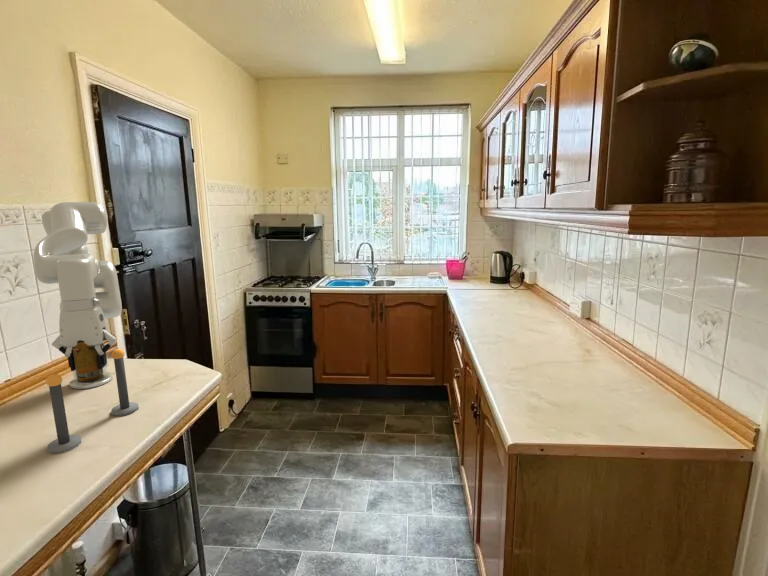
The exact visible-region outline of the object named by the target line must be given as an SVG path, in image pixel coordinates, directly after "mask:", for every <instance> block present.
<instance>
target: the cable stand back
mask: <svg viewBox="0 0 768 576" xmlns="http://www.w3.org/2000/svg"><path fill="white" fill-rule="evenodd" d="M111 357H112V359H113V361H114V362H113V363H114V371H115V373H116V374H115V376H116V377H115V378H116V385H117V392H118V393H117V394H118V401H119V404H117V405H115V406H114V407H112V408H111V415H112V416H113V417H123V416H128V415H131V414H134V413H136V412H137V411H138V410H139V403H138V402H134V401H133V402H132V401H130V400H129V391H128V382H127V376H126V367H125V358H124V357H125V351H124V350H123V349H121V348H115V349H114V350H113V351H112V352H111ZM135 411H136V412H135Z"/></svg>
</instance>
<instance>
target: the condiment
mask: <svg viewBox="0 0 768 576" xmlns="http://www.w3.org/2000/svg"><path fill="white" fill-rule="evenodd" d="M73 355H74V362H75V369H76V375H77V379H75V380H73V379H72V380H73V381H71V380H70V381H71V382H70V381H69V382H68V384H69V383H100V382H103V381H104V380H106V379H108V378H109V377H111V376H112V377H113V376H114V375H116V372H111V371H110V372H108V373H107V372H104V373H103V368H102V369H98V362H97V355H98V352H97V350H96V349H95V347H94V346H88V345H87V344H85V342H84V341H83V340H79V341H77V345H76V347H74V348H73Z"/></svg>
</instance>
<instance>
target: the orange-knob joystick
mask: <svg viewBox="0 0 768 576" xmlns="http://www.w3.org/2000/svg"><path fill="white" fill-rule="evenodd" d="M62 382H63V377H62V376H61V375H60V374H59V373H58V374H57V373H53V374H50V375H49V376H47V377H46V380H45V383H46V385H47V386H48V390H49V394H50V396H49V397H50V400H51V402H50V403H51V406H52V412H53V414H52V415H53V419H54V424H55V431H56V438H55V439H54V440H52V441H51V442H49V443H48V444H47V446H46V448H47V452H48V451H49V452H51V453H50V454H59V453H58V452H62V453H65V452H64V451H66V452H69V451H71V449H72V450H73V448H74V449H75V447H76V448H78V446H80V445H81V443H82V438H81V436H80V435H78V434H70V432H69V427H68V420H67V414H66V409H65V402H64V395H63V389H62ZM79 444H80V445H79ZM68 450H69V451H68ZM49 452H48V453H49Z"/></svg>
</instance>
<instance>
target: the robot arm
mask: <svg viewBox="0 0 768 576" xmlns="http://www.w3.org/2000/svg"><path fill="white" fill-rule="evenodd" d="M108 221H109V220H108V214H107V211H106V208H105V207H104V206H103V205H102V204H101V203H98V202H95V201H63V202H59V203H56V204H55V205H53V206H52V207H51V209H49V210H46V211H44V212H43V213H42V215H41V223H42V226H43V229H44V231H45V233H46V236H45V237H43V238H42V239H41V240H40V241H38V243H37V244H36V245H35V247H34V251H33V270H34V274H35V277H36V279H37V280H38V281H39V282H40V283H42V284H46V285H47V284H48V285H49V284H58V289H59V295H60V302H59V310H60V312H59V319H58V320H59V323H58V324H59V325H58V326H59V328H58V330H59V335H58V336H57V337H56V338H55V340H54V341H53V342H52V343H51V346H53V347H54V348H55V349H57V350H58V351H59V352H60V353H62V354H63V355H64V356H65V358H67V362H68V367H69V368H70V371H71V372H72V375H73V377H74V378H72V379H71V380H70V381H69V382H71V381H73V380H75V379H77V375H76V369H75V362H74V355H73V348H74V347H76V345H77V341H79V340H83V341H84V342H85V344H87V345H88V346H94V347H95V349H96V350H97V352H98V355H97V362H98V369H102V368H103V373H104V372H107V367H109V362H108V358H107V352H108V351H109V349H110V348H112V346H113V345H114V344H115V343H117V341H118V338H117V337H115V336H114V335H113V334H111V333H110V332H109V330H108V325H107V322H106V319H113V318H117V317H120V315H121V314H122V311H123V306H122V305H123V304H122V298H121V291H120V285H119V279H118V273H117V269H116V267H115V265H114V263H113V262H111V261H109V260H98V258H96V256H94V255H92V254H89V250H88V247H87V246H86V244H87V242H88V237H89V236H88V235H101V234H104V233H105V232H106V230H107V227H108V223H109V222H108ZM95 289H102V290H103V291H96V290H95ZM106 341H108V342H107V343H106V344H105V343H104V342H106ZM107 373H109V372H107ZM112 379H114V378H113V375H112V376H111V377H109V378H108V379H106V380H104V381H103V382H100V383H69V382H68V384H69V388H71V389H75V390H82V389H83V390H84V389H91V388H96V387H99V386H102V385H105V384H107V383H109V382H110V381H112Z"/></svg>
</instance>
